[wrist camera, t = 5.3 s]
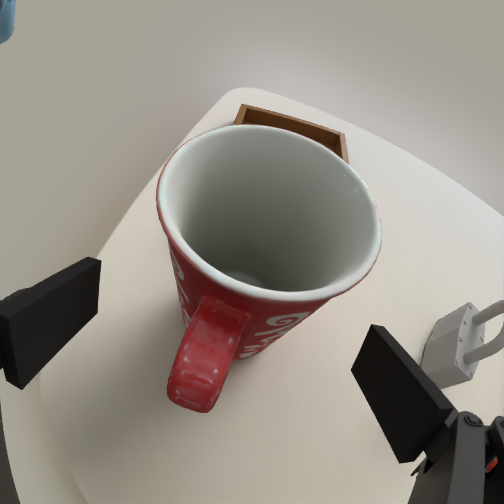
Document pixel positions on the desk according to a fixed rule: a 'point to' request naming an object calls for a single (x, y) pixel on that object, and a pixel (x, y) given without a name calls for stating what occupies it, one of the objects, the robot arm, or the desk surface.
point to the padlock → (460, 344)
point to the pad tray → (294, 128)
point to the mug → (257, 244)
